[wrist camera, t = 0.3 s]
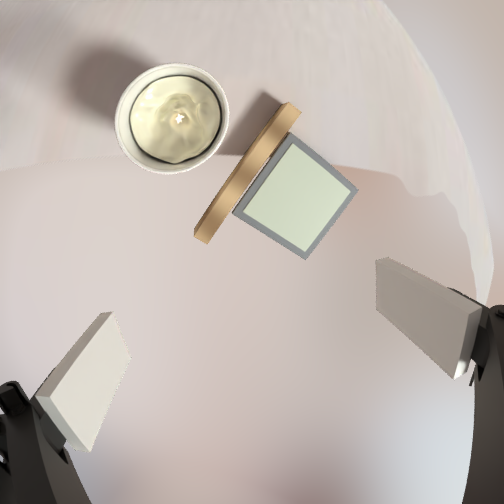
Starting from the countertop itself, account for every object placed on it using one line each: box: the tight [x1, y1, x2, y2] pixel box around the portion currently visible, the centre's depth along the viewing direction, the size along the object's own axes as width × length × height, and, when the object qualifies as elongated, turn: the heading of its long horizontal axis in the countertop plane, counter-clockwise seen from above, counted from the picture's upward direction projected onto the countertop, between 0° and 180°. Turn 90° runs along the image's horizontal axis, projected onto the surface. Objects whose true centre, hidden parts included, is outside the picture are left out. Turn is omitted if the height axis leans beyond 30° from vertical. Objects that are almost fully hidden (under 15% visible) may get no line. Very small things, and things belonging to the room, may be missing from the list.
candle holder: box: [114, 63, 229, 174], centre depth 26 cm, size 10×10×12 cm
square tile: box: [232, 133, 358, 260], centre depth 37 cm, size 13×13×1 cm
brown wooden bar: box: [194, 102, 302, 244], centre depth 34 cm, size 20×2×3 cm, turn 144°
